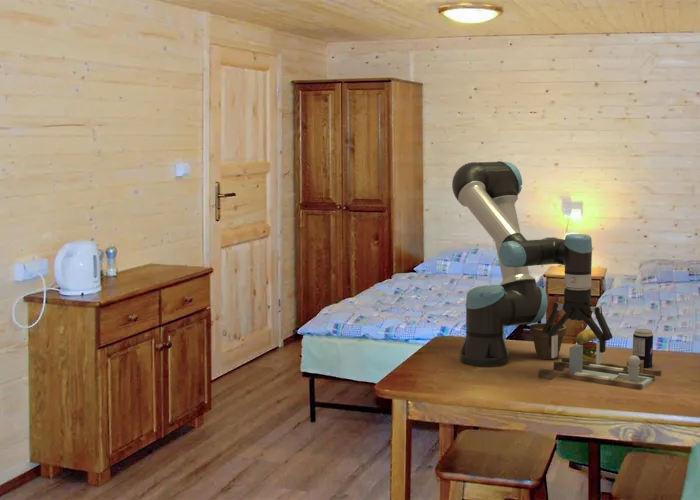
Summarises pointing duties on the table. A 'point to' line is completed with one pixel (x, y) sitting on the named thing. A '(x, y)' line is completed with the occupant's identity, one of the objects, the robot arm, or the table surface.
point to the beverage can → (643, 346)
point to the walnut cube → (639, 366)
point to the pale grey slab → (576, 366)
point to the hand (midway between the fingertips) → (576, 360)
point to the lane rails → (598, 368)
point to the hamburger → (587, 344)
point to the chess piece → (633, 369)
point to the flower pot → (545, 340)
